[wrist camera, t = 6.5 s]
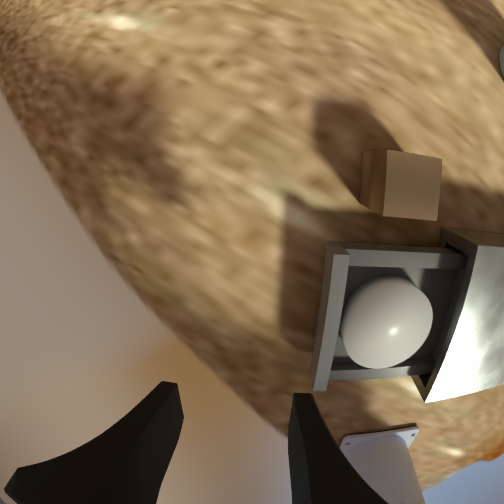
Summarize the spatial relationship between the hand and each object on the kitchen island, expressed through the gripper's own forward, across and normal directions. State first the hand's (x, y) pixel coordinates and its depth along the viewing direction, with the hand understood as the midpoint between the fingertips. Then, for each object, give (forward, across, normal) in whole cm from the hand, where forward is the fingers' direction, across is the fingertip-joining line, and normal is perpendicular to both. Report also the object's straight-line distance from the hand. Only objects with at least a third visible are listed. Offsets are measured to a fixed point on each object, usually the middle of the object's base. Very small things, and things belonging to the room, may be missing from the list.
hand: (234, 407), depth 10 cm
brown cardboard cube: (+9, -8, -8) cm, 14 cm away
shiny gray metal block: (+9, -18, 0) cm, 20 cm away
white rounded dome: (+7, -8, 0) cm, 11 cm away
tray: (+8, -9, 0) cm, 12 cm away
